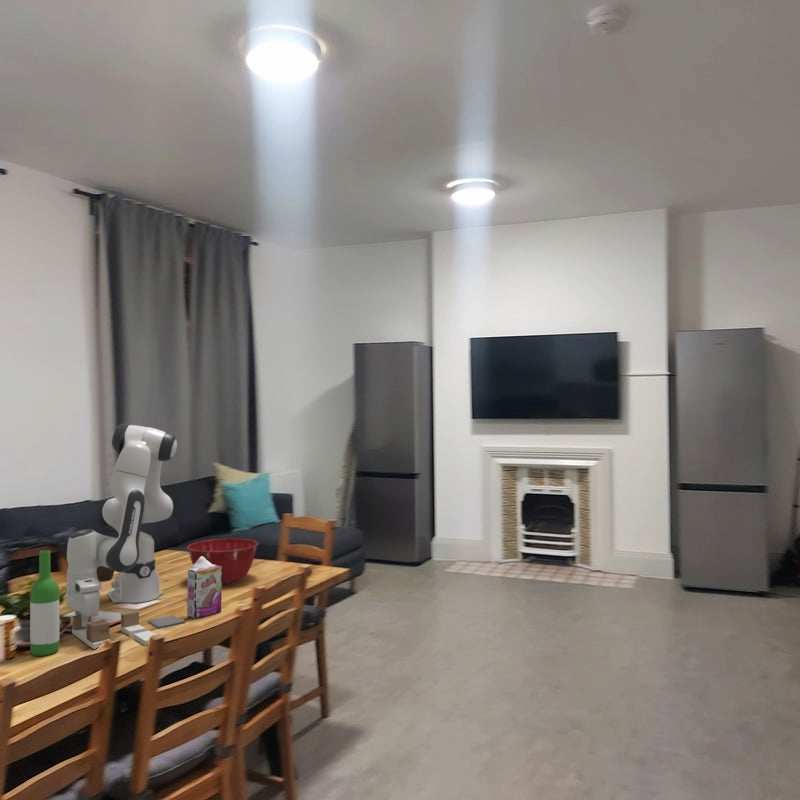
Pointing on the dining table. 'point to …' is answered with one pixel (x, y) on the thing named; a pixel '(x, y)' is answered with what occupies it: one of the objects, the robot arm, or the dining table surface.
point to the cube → (97, 630)
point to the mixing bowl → (226, 556)
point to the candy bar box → (204, 591)
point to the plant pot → (104, 573)
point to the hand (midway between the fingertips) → (81, 624)
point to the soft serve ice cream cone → (201, 563)
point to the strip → (83, 631)
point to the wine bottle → (44, 610)
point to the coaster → (166, 621)
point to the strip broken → (134, 627)
